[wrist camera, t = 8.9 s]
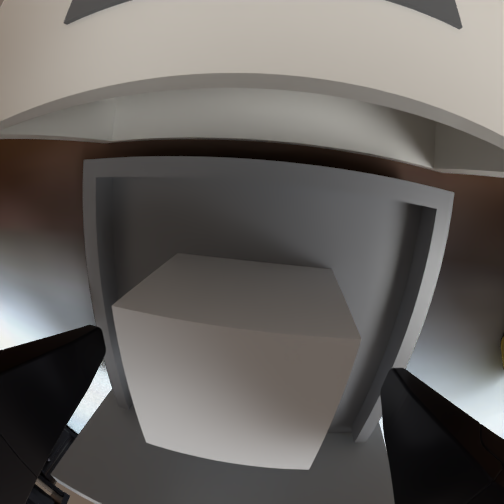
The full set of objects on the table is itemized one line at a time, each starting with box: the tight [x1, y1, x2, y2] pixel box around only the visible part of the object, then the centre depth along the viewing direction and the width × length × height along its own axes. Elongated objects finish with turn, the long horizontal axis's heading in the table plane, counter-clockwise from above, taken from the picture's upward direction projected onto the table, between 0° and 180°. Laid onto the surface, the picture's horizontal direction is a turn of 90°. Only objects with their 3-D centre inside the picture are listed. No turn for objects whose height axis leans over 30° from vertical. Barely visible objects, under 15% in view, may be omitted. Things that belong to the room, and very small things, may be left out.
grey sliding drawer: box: [51, 156, 454, 504], centre depth 7 cm, size 12×14×7 cm
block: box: [112, 253, 361, 470], centre depth 8 cm, size 5×5×4 cm
